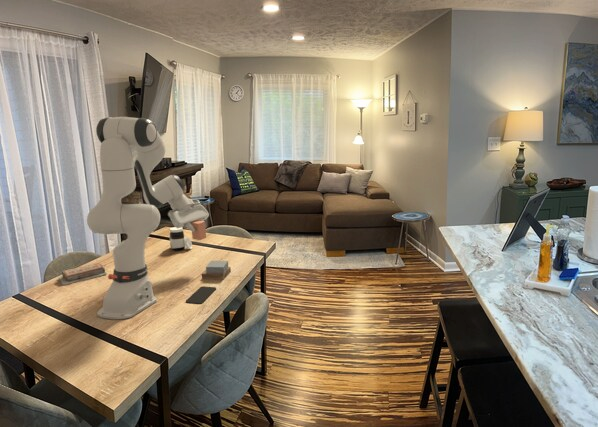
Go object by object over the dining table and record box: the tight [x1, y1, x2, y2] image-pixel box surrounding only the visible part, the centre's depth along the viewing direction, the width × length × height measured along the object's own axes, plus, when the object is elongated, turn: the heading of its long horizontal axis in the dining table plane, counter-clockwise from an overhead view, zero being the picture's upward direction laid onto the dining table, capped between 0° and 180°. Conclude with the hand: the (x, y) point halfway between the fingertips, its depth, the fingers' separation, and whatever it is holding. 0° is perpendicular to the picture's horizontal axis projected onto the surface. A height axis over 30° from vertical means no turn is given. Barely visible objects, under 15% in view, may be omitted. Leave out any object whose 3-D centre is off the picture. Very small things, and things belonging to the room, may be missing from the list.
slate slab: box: [205, 260, 229, 274], centre depth 184 cm, size 8×8×3 cm
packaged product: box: [58, 262, 108, 286], centre depth 185 cm, size 18×5×10 cm
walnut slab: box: [201, 266, 232, 281], centre depth 184 cm, size 10×10×3 cm
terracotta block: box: [191, 220, 207, 241], centre depth 190 cm, size 4×4×8 cm
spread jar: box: [169, 226, 193, 252], centre depth 222 cm, size 12×11×12 cm
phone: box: [185, 285, 217, 305], centre depth 164 cm, size 7×1×15 cm
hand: (199, 229), depth 189 cm, fingers closed on terracotta block, 4 cm apart
